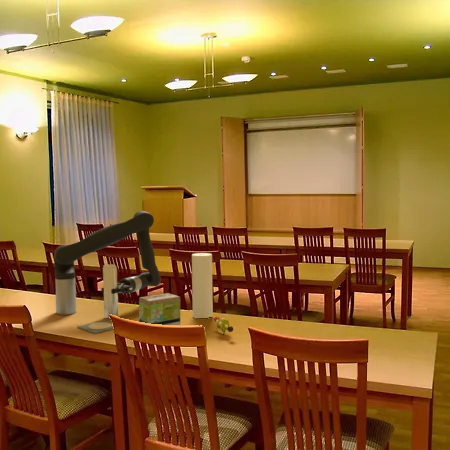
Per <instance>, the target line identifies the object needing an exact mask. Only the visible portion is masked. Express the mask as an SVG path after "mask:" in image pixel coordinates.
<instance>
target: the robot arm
mask: <svg viewBox="0 0 450 450" xmlns="http://www.w3.org/2000/svg"><path fill="white" fill-rule="evenodd" d="M154 222H155V220H154V216H153V215H152V214H151V213H150V212H148V211H144V210H139V211H137V212H135V213H134V215H133V216H132V218H130V219H128V220H126V221H124V222H119V223H118V222H117V223H114V224H111V225H107V226H104V227H102V228H100V229H98V230H95V231H94V232H92V233H91V234H89V235H87V236H86V237H84V238H83V239H81V240H79V241H76V242H73V243H71V244H69V245H67V244H60V245H59V246H57V247H56V249H54V253H53V258H54V259H53V260H54V265H53V266H54V278H55V279H54V280H55V312H56V314H57V315H62V316H63V315H67V316H68V315H72V314H75V313H77V293H76V270H75V261H78V260H79V259H81V258H82V257H84V256H86V255H89V254H91V253H94V252H97V251H99V250H103V249H105V248H107V247H109V246H111V245H113V244H116V243H118V242H120V241H121V240H124V239H126V238H127V237H129V236H132V235H134V234H136V235H137V238H138V246H139V253H140V259H141V266H142V268H143V269H144V270H147V271H148V272H143V273H140V274H139V275H135V276H134V275H133V276H128V277H124V278H122V279H120V280H119V282H117V288H115V289H112V294H115V293H118V294H124V295H127V294H130V293H133V292H137V291H139V290H143V289H144V288H146V287H157V286H159V285H160V284H161V281H162V278H161V274H160V271H159V269H158V266H157V264H156V257H155V252H154V251H155V250H154V246H153V244H152V241H151V236H150V228H152V227H153V225H154ZM100 291H101V293H102V294H104V287H101V289H100Z"/></svg>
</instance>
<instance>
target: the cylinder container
mask: <svg viewBox="0 0 450 450" xmlns="http://www.w3.org/2000/svg"><path fill="white" fill-rule="evenodd" d="M191 281H192V282H191V284H192V286H191V287H192V294H191V295H192V318H193V317H194V319H196V318H208V317H211V316H212V315H214V314H213V313H214V311H213V307H214V306H213V304H214V303H213V254H212V253H209V252H208V253H207V252H200V253H199V252H196V253H192V254H191ZM208 319H209V318H208Z"/></svg>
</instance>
